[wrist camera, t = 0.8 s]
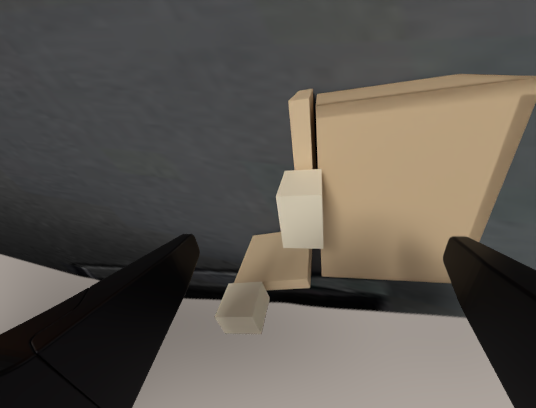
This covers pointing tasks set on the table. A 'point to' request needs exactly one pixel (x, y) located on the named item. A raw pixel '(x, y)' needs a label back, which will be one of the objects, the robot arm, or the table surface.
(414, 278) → the carton
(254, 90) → the table surface
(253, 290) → the flap open
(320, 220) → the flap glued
